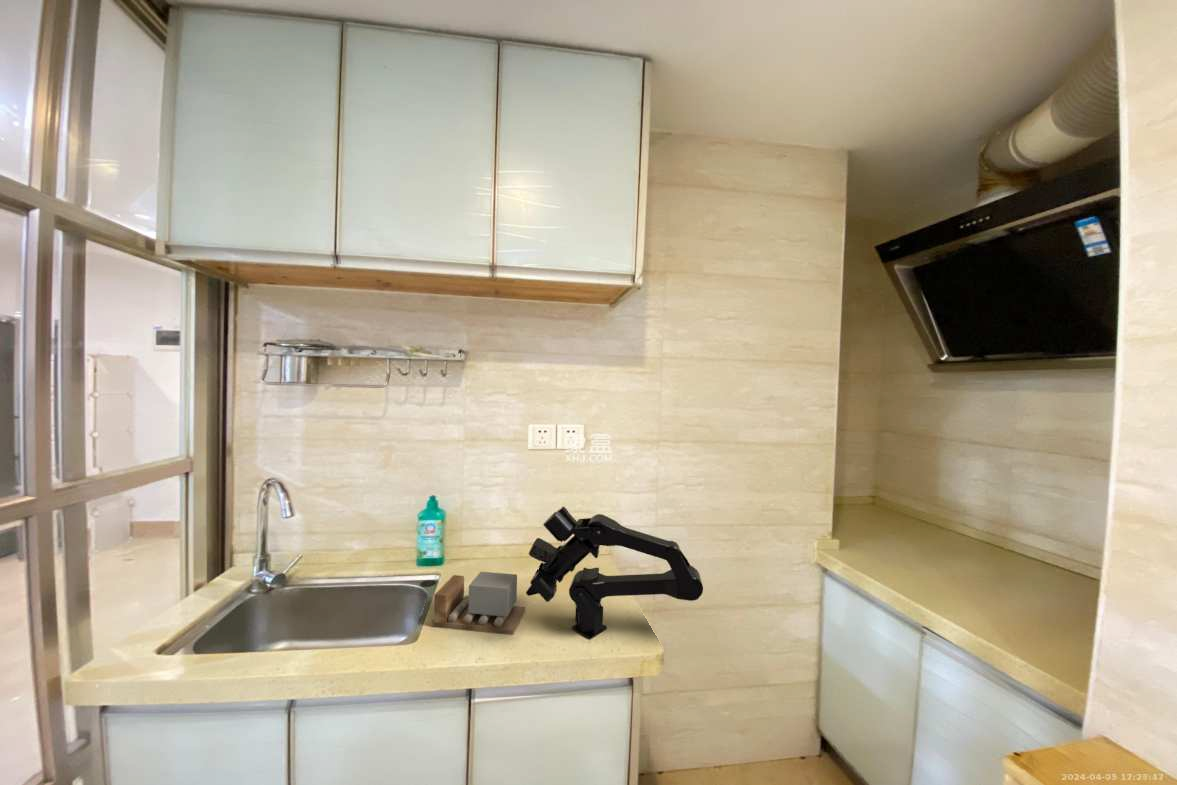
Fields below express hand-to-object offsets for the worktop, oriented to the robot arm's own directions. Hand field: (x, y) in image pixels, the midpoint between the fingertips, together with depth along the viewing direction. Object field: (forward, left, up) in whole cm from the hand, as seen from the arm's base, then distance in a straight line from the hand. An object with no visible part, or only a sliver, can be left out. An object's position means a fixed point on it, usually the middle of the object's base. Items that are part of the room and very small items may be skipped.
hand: (527, 593), depth 112 cm
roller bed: (+10, +7, -8) cm, 15 cm away
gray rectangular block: (+7, +5, -4) cm, 10 cm away
